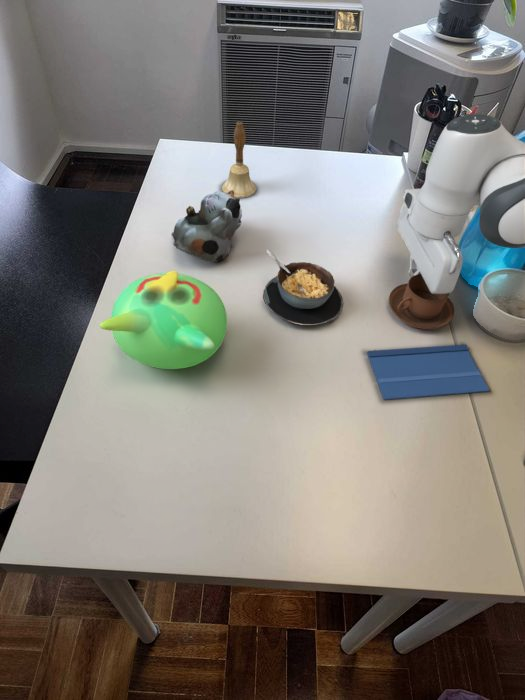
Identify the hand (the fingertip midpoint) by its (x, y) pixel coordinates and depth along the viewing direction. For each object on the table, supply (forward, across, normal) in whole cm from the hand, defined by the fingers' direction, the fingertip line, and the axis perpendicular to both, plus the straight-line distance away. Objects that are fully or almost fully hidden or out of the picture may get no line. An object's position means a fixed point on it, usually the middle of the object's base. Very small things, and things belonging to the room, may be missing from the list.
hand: (414, 278), depth 90 cm
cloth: (+3, -20, +4) cm, 21 cm away
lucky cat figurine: (+4, +17, +39) cm, 43 cm away
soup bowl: (+4, -1, +22) cm, 22 cm away
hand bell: (+4, +39, +30) cm, 49 cm away
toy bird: (+4, -12, +46) cm, 48 cm away
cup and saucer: (+3, -6, 0) cm, 7 cm away
